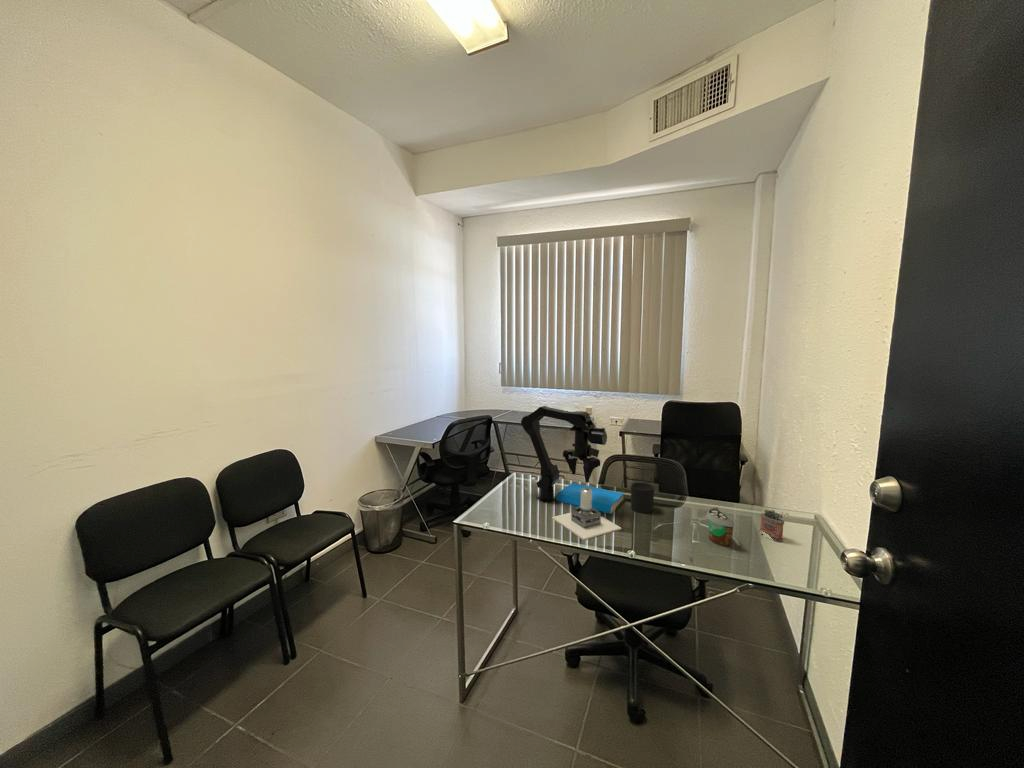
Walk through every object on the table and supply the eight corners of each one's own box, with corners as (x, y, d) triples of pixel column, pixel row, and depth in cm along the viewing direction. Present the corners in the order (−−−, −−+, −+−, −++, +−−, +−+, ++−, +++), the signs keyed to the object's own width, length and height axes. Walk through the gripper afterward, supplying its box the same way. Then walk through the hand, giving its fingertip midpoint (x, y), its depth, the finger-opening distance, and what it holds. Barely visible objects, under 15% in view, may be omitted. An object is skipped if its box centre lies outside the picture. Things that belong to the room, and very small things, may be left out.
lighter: (757, 533, 149) (758, 507, 148) (763, 531, 150) (764, 506, 149) (778, 543, 141) (780, 516, 140) (784, 541, 143) (787, 514, 142)
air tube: (577, 522, 156) (578, 490, 154) (583, 518, 159) (584, 487, 158) (587, 526, 153) (588, 493, 151) (593, 522, 156) (594, 489, 155)
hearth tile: (552, 518, 160) (552, 517, 160) (587, 509, 169) (587, 508, 169) (583, 540, 143) (583, 538, 143) (621, 529, 151) (621, 527, 151)
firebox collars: (571, 520, 157) (571, 509, 157) (587, 516, 161) (587, 505, 161) (584, 528, 150) (584, 516, 150) (600, 524, 154) (600, 512, 154)
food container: (699, 532, 150) (700, 506, 149) (715, 532, 149) (717, 506, 148) (714, 548, 137) (716, 520, 136) (732, 549, 137) (734, 521, 136)
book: (572, 482, 192) (623, 492, 179) (572, 491, 192) (623, 501, 179) (556, 493, 178) (611, 505, 164) (556, 503, 178) (611, 515, 165)
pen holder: (658, 510, 169) (659, 487, 168) (643, 515, 164) (644, 492, 163) (639, 503, 177) (640, 481, 176) (625, 507, 171) (626, 485, 170)
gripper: (611, 444, 165) (610, 481, 166) (582, 435, 181) (581, 468, 183) (589, 447, 159) (588, 485, 161) (562, 437, 176) (561, 472, 177)
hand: (580, 477), depth 171 cm, fingers open, 9 cm apart
